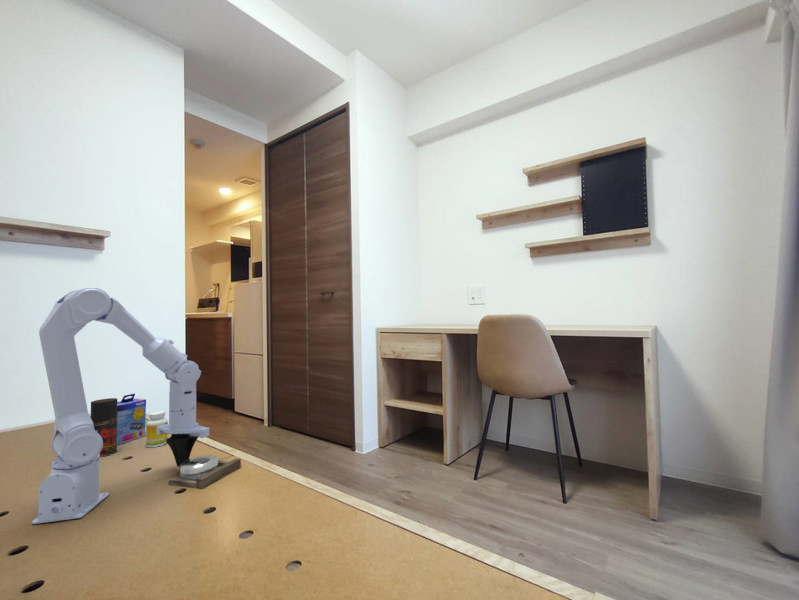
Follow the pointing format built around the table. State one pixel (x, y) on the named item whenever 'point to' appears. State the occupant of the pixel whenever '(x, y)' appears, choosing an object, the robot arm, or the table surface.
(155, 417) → the supplement bottle
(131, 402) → the ink cartridge box
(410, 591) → the table surface
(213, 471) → the cradle
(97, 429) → the deodorant
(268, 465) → the table surface
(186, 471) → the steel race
